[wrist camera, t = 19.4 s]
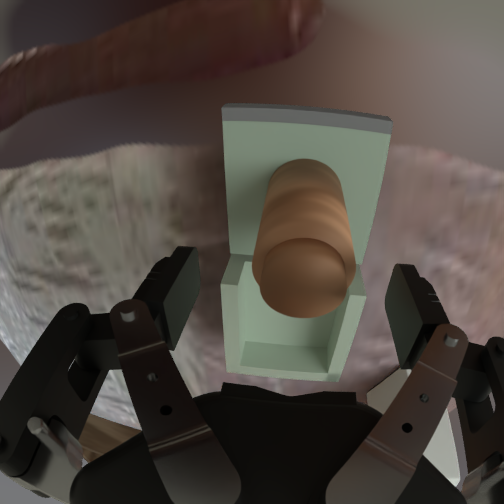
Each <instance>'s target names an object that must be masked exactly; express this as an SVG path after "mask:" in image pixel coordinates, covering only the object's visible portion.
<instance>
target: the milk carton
mask: <svg viewBox="0 0 504 504" xmlns="http://www.w3.org/2000/svg"><path fill="white" fill-rule="evenodd" d="M410 373H411V369H406V370H401V368H399V369H398V370H397V371H395V372H394V373H393V374H392V375H390V376H389V377H388V378H386V379H385V380H384V381H382V382H381V383H380V384H379V385H377V386H376V387H374V388H373V389H372V390H370V391H369V392H368V393H367V404H368V406H370V407H372V408H374V409H376V410H378V411H379V412H381V413H382V414H383V415H384V413H385V412H386V410H387V409H388V407H389V406H390V404H391V403H392V401H393V400H394V398H395V397H396V395H397V394H398V392H399V391H400V389H401V388H402V386H403V384H404V383H405V381H406V380H407V378H408V376H409V375H410ZM423 455H424V456H425V457H426V458H427V459H428V460H429V461H430V462H431V463H432V464H433V465H434V466H435V467H436V468H437V469H438V470H439V471H440V472H441V473H442V474H443V475H444V476H445V477H446V478H447V479H448V480H449V481H450V482H451V483H452V484H453V485H454V486H455V487H456V486H457V484H458V482H459V481H460V472H459V465H458V460H457V454H456V449H455V443H454V439H453V434H452V429H451V424H450V420H449V416H448V411H447V408H446V410H445V412H444V414H443V417H442V419H441V421H440V423H439V425H438V427H437V429H436V431H435V433H434V435H433V436H432V438H431V440H430V442H429V444H428V446H427V448H426V449H425V451H424V453H423Z"/></svg>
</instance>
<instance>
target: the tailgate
mask: <svg viewBox="0 0 504 504" xmlns="http://www.w3.org/2000/svg"><path fill="white" fill-rule="evenodd" d="M222 122H223V143H224V162H225V180H226V197H227V213H228V229H229V244H230V253H231V254H243V255H253V254H254V250H255V245H256V240H257V236H258V231H259V226H260V222H261V217H262V212H263V207H264V203H265V198H266V193H267V189H268V184H269V181H270V178H271V176H272V175H273V173H274V172H275V171H276V170H277V169H278V168H279V167H280V166H282V165H283V164H285V163H287V162H289V161H292V160H296V159H313V160H317V161H320V162H322V163H324V164H326V165H327V166H329V167H330V168H331V169H332V170H333V171H334V172H335V173H336V175H337V176H338V178H339V180H340V183H341V187H342V191H343V196H344V201H345V205H346V210H347V216H348V221H349V226H350V231H351V237H352V243H353V249H354V255H355V261H356V264H362V261H363V258H364V254H365V250H366V247H367V243H368V239H369V235H370V231H371V227H372V223H373V219H374V215H375V211H376V207H377V202H378V198H379V193H380V189H381V184H382V179H383V174H384V169H385V164H386V159H387V154H388V148H389V143H390V137H391V132H392V125H393V121H392V120H391V119H390V118H389V117H388V116H381V115H375V114H369V113H362V112H355V111H347V110H339V109H330V108H319V107H308V106H295V105H278V104H277V105H275V104H248V103H245V104H243V103H229V104H228V103H227V104H225V105H224V106H223V107H222Z"/></svg>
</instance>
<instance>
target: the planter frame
mask: <svg viewBox="0 0 504 504" xmlns="http://www.w3.org/2000/svg"><path fill="white" fill-rule="evenodd" d="M140 432H141V430H137V429H134V428H131V427H127V426H124V425H121V424H118V423H115V422H112V421H109V420H106V419H103V418H100V417H98V416H95V415H92V414H89V416H88V419H87V421H86V423H85V426H84V428H83V431H82V433H81V435H80V438H79V440H78V441H79V443H80V444H81V446H82V449H83V458H84V459H85V460H86V461H87V462H88V463H90V462H91V461H93V460H95V459H96V458H98V457H100V456H102V455H103V454H105V453H107V452H108V451H110V450H112V449H113V448H115V447H117V446H118V445H120V444H122V443H123V442H125V441H127V440H128V439H130V438H132V437H133V436H135V435H136V434H138V433H140Z"/></svg>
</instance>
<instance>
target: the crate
mask: <svg viewBox="0 0 504 504" xmlns="http://www.w3.org/2000/svg"><path fill="white" fill-rule="evenodd" d="M252 259H253V255H243V254H231V257H230V259H229V262H228V265H227V267H226V270H225V273H224V275H223V278H222V281H221V300H222V316H223V330H224V344H225V357H226V370H227V372H231V373H239V374H247V375H255V376H264V377H274V378H285V379H298V380H312V381H331V382H338V381H339V379H340V376H341V373H342V370H343V368H344V365H345V362H346V359H347V356H348V354H349V351H350V348H351V345H352V342H353V339H354V336H355V333H356V330H357V326H358V323H359V320H360V317H361V313H362V310H363V307H364V303H365V300H366V297H367V296H366V291H365V287H364V283H363V278H362V274H361V270H360V266H359V264H356V273H355V276H354V279H353V281H352V283H351V285H350V286H349V287H348V288H347V293H346V296H345V298H344V300H343V302H342V303H341V304H340V305H339V306H338V307H337V308H336V309H334V310H333V311H331V312H329V313H327V314H325V315H322V316H318V317H314V318H294V317H289V316H286V315H283V314H281V313H278V312H277V311H275V310H273V309H272V308H271V307H269V306H268V305H267V304H266V303H265V301H264V300H263V298H262V296H261V293H260V286H259V285H258V284H257V282H256V281H255V278H254V276H253V273H252Z"/></svg>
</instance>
